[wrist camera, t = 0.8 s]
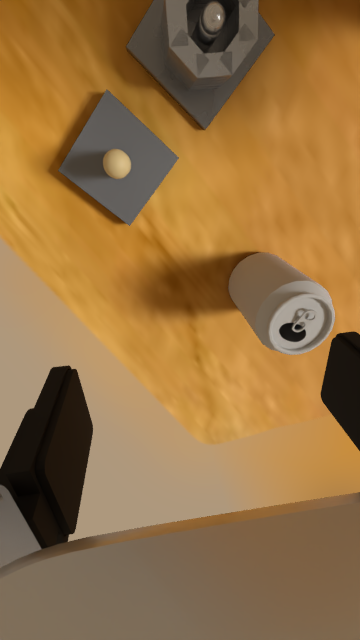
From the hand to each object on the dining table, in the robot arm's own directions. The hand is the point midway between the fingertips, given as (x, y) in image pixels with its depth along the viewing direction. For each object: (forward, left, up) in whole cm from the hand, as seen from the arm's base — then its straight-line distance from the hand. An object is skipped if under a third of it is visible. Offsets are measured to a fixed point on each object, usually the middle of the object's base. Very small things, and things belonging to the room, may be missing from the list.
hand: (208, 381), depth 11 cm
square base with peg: (-3, -8, -25) cm, 26 cm away
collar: (-15, -8, -24) cm, 29 cm away
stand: (-15, -8, -25) cm, 30 cm away
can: (-3, +12, -25) cm, 28 cm away
